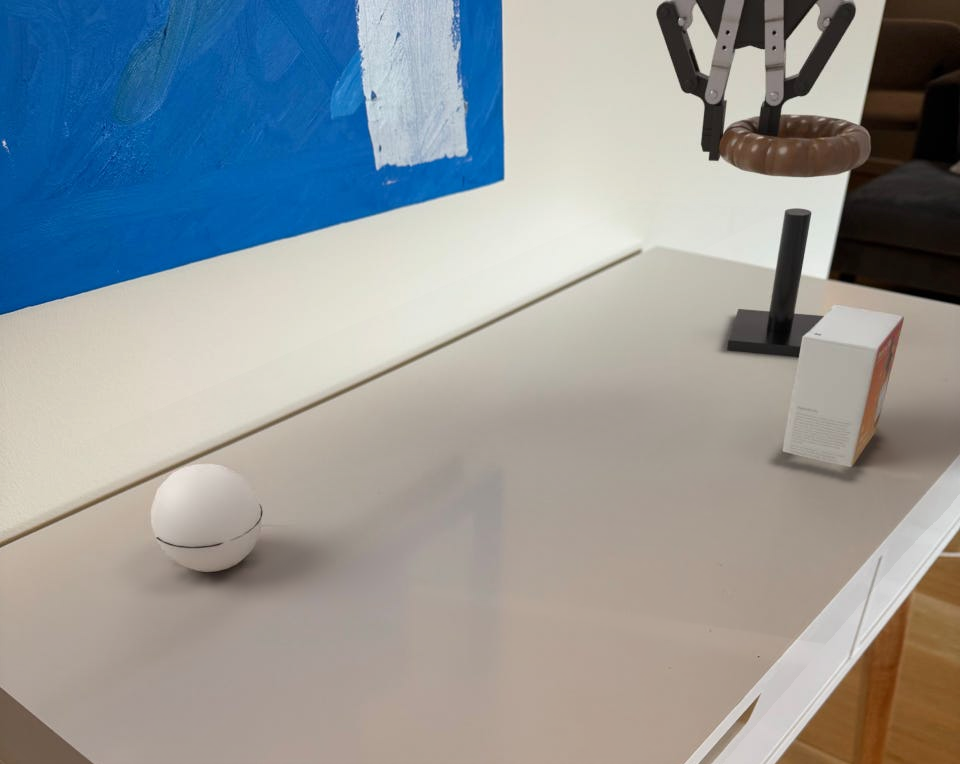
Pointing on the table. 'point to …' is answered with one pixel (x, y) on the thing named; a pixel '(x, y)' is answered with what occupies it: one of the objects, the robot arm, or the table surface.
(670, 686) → the table surface
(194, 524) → the seamed sphere
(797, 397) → the small box
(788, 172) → the brown ribbed ring
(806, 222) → the stand
